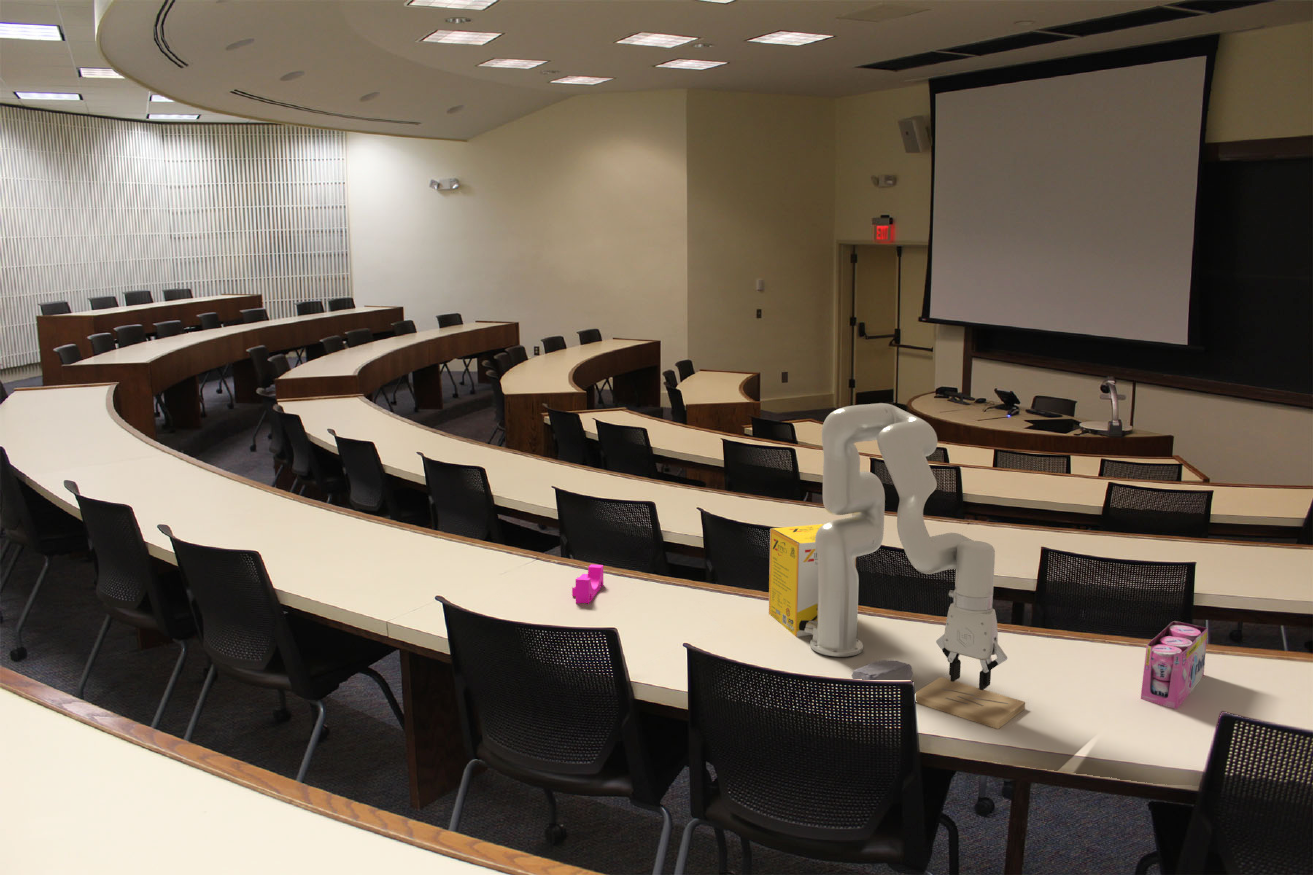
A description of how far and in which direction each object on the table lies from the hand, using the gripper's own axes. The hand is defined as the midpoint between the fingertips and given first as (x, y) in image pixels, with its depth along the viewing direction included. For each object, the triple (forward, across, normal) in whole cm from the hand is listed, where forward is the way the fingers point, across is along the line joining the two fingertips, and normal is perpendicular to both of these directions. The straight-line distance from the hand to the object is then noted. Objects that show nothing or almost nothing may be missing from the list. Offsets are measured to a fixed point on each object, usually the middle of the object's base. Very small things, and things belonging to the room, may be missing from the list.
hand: (969, 682), depth 202 cm
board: (+5, 0, 0) cm, 5 cm away
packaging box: (+5, -52, +17) cm, 54 cm away
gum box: (+5, +29, +37) cm, 48 cm away
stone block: (+2, -24, -1) cm, 24 cm away
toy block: (+5, -112, -6) cm, 112 cm away
